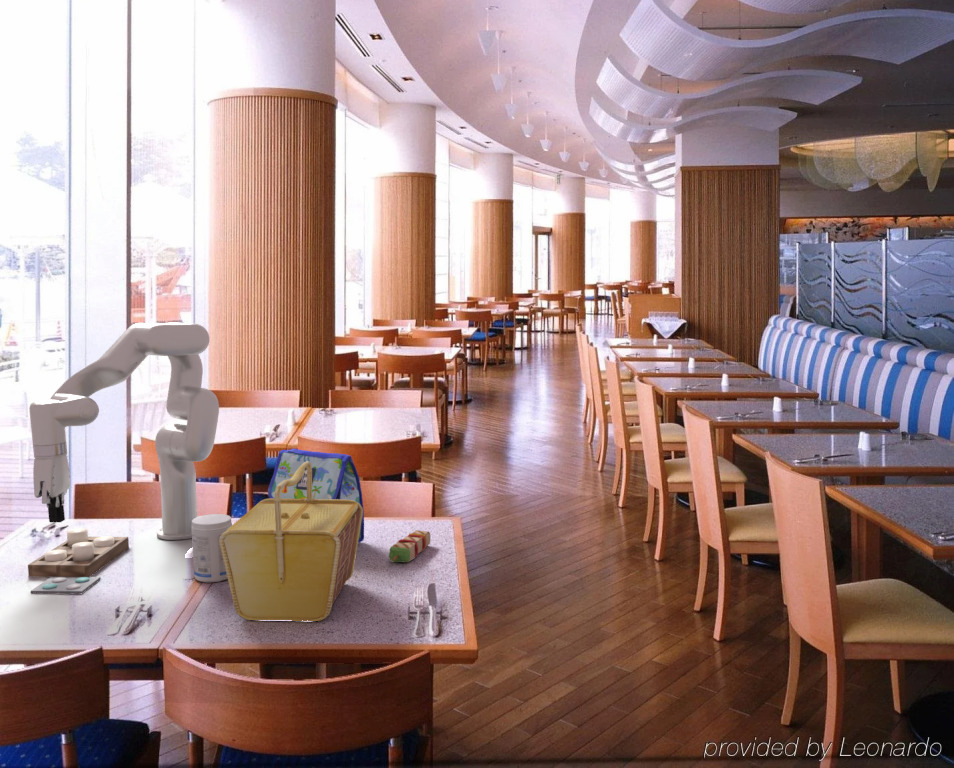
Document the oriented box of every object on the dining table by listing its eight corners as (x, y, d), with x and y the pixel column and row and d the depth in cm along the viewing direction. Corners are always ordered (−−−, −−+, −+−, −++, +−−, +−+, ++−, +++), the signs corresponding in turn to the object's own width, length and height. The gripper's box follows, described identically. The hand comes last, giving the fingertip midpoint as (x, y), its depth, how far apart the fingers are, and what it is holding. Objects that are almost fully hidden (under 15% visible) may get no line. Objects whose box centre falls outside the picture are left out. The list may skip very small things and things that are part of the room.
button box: (128, 547, 247) (128, 536, 247) (89, 577, 223) (88, 565, 223) (74, 547, 247) (73, 536, 247) (28, 576, 224) (27, 564, 223)
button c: (97, 556, 231) (97, 541, 231) (88, 562, 226) (88, 547, 226) (78, 556, 232) (77, 541, 231) (69, 562, 227) (68, 547, 226)
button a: (117, 550, 244) (117, 536, 243) (109, 556, 239) (109, 541, 238) (99, 550, 244) (98, 536, 243) (91, 555, 239) (90, 541, 238)
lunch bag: (265, 549, 246) (262, 453, 243) (299, 532, 262) (297, 443, 258) (337, 558, 238) (335, 460, 235) (368, 541, 253) (366, 448, 250)
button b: (91, 542, 244) (90, 528, 243) (83, 547, 239) (82, 533, 238) (73, 542, 244) (72, 528, 243) (64, 547, 239) (63, 533, 238)
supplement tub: (230, 568, 230) (228, 511, 228) (238, 580, 221) (236, 521, 220) (190, 574, 226) (188, 516, 224) (196, 586, 217) (194, 525, 215)
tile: (100, 579, 222) (100, 575, 222) (81, 593, 212) (81, 590, 212) (51, 578, 222) (51, 575, 222) (30, 593, 212) (30, 589, 212)
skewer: (411, 544, 251) (411, 526, 250) (433, 546, 249) (433, 528, 248) (381, 567, 231) (381, 548, 231) (404, 570, 229) (404, 550, 229)
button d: (70, 564, 232) (70, 549, 231) (61, 570, 227) (60, 555, 226) (51, 564, 232) (50, 549, 232) (41, 570, 227) (40, 555, 227)
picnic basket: (259, 579, 222) (256, 458, 219) (365, 581, 221) (363, 459, 217) (219, 625, 193) (214, 486, 190) (340, 628, 192) (337, 488, 188)
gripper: (50, 443, 233) (56, 512, 236) (19, 457, 219) (27, 531, 221) (79, 443, 233) (85, 512, 236) (50, 456, 218) (57, 530, 221)
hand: (57, 521), depth 229 cm, fingers closed
